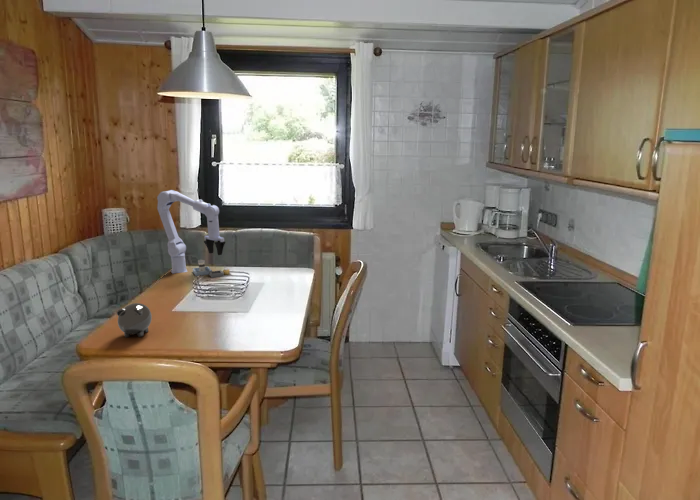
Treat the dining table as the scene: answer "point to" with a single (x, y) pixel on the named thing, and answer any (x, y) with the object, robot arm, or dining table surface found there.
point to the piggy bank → (134, 319)
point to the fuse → (201, 265)
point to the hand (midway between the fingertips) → (215, 253)
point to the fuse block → (220, 273)
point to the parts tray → (197, 273)
